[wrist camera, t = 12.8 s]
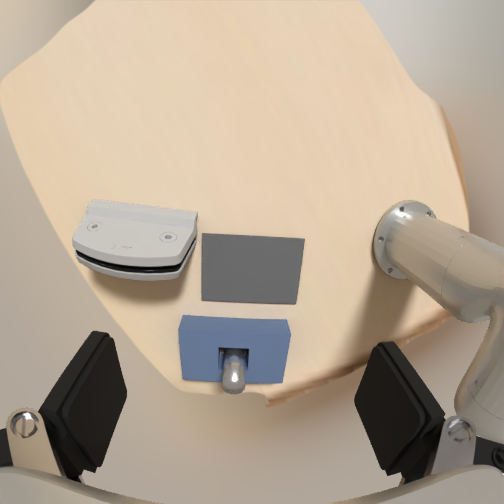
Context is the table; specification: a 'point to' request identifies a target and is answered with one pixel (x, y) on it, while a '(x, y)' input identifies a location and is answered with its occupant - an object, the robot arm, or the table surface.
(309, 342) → the table surface
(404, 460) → the robot arm
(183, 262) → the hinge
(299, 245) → the mat
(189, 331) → the hole block
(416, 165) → the table surface
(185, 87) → the table surface
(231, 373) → the peg
